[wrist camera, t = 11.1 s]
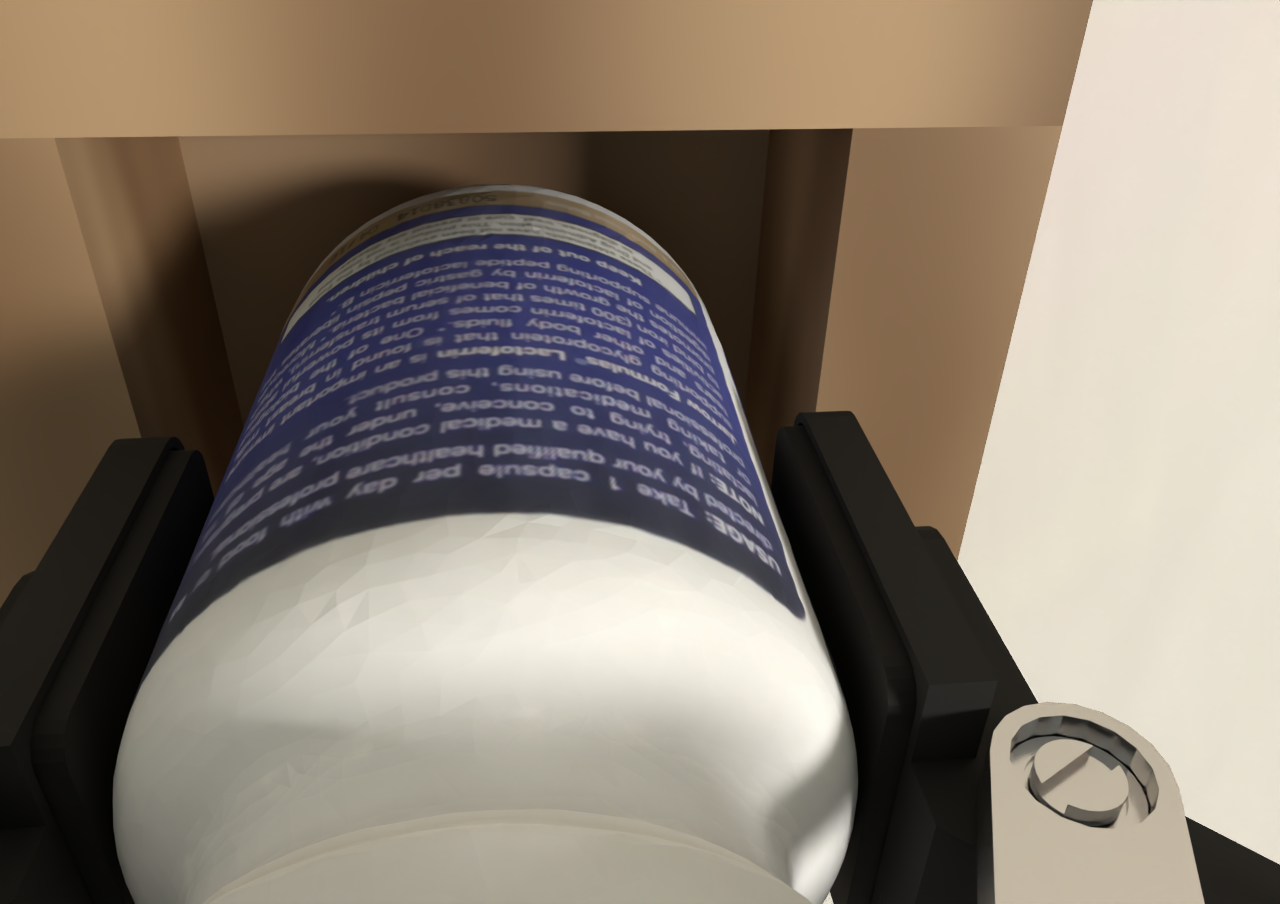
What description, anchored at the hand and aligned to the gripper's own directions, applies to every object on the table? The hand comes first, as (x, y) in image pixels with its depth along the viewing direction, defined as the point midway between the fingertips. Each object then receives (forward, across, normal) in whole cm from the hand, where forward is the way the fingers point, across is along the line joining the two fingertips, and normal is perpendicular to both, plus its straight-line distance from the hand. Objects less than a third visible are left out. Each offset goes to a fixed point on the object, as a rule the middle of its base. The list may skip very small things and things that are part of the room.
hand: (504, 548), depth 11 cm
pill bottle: (+4, 0, 0) cm, 4 cm away
